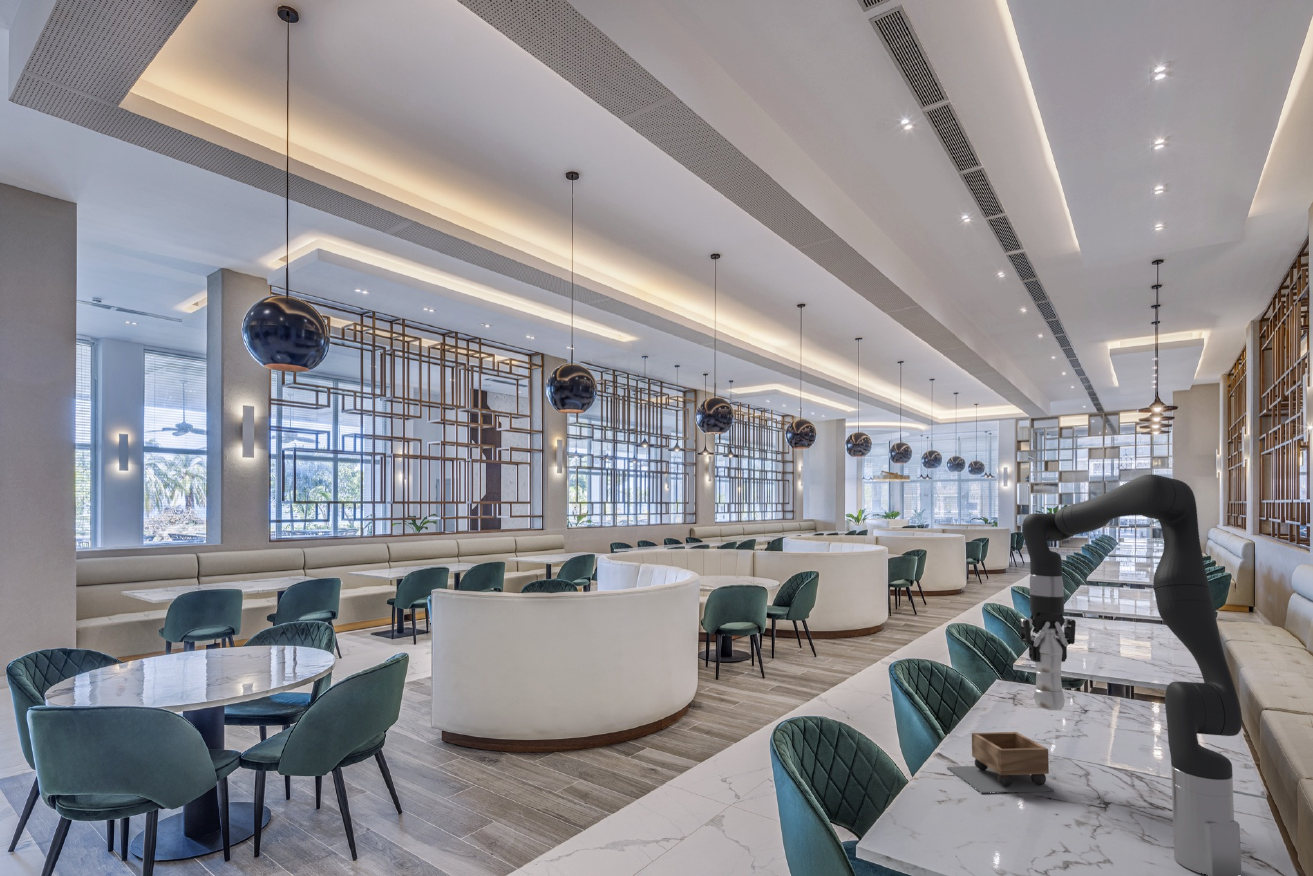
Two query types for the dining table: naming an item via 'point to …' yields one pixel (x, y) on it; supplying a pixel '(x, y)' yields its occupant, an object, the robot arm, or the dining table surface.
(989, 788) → the gray mat
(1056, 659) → the plastic bottle
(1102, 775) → the dining table surface
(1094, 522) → the robot arm
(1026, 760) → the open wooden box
